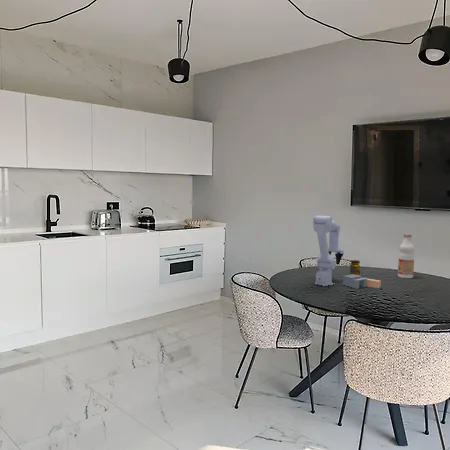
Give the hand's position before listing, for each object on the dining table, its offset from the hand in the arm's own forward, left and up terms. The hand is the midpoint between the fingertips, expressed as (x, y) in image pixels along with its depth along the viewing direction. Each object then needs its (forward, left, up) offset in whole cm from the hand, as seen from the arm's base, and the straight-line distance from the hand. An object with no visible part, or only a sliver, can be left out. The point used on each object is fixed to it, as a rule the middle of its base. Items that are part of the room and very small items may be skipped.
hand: (333, 263), depth 281 cm
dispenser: (-2, -19, -10) cm, 22 cm away
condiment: (+13, -6, -11) cm, 18 cm away
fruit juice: (+47, -21, -11) cm, 52 cm away
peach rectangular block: (+6, -25, -11) cm, 28 cm away
